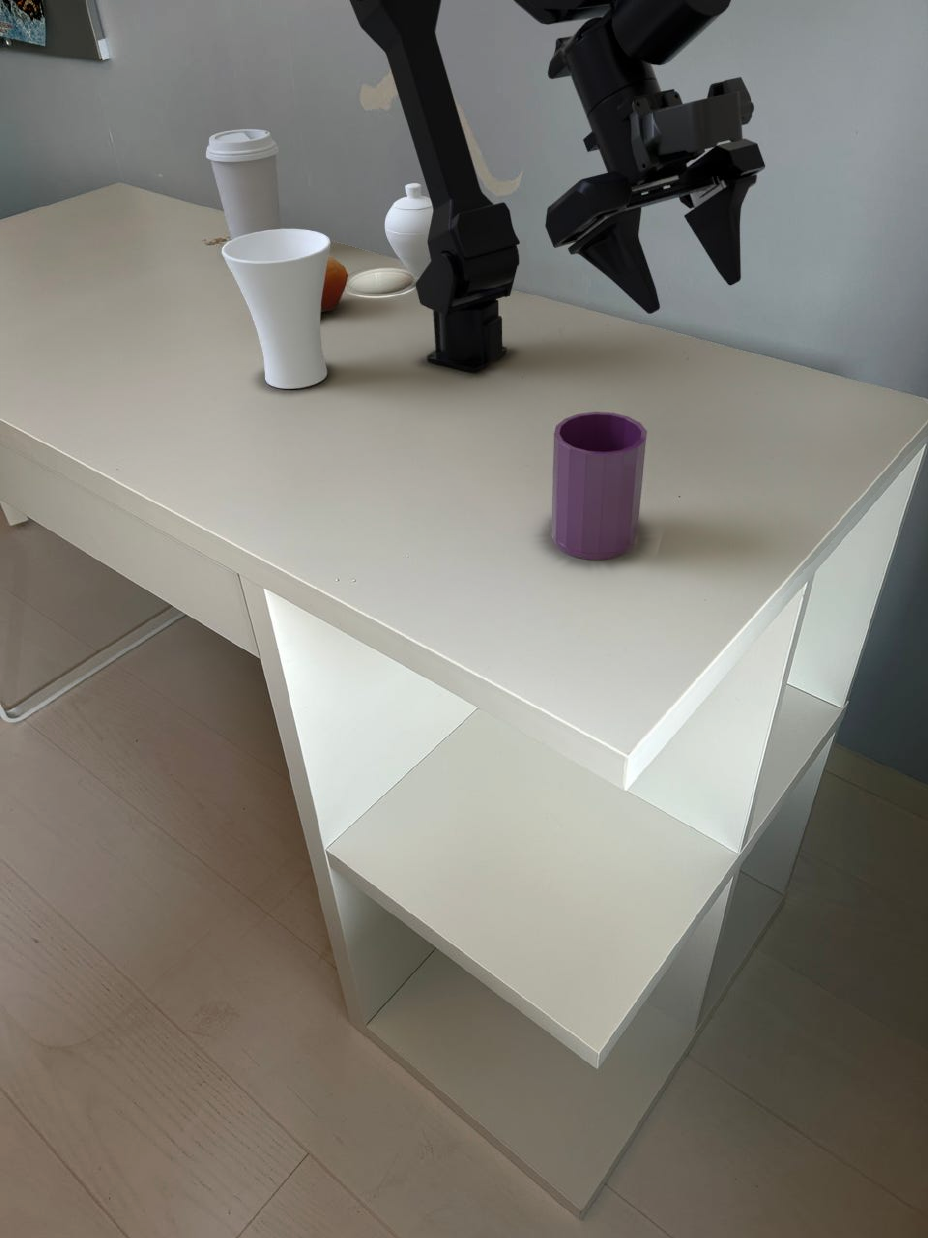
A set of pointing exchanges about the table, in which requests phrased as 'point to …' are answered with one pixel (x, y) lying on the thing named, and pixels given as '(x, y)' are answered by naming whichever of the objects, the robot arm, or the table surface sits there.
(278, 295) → the cup
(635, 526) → the tumbler
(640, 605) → the table surface
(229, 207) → the coffee cup
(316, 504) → the table surface
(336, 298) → the fruit
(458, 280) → the robot arm
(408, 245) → the spinning top
